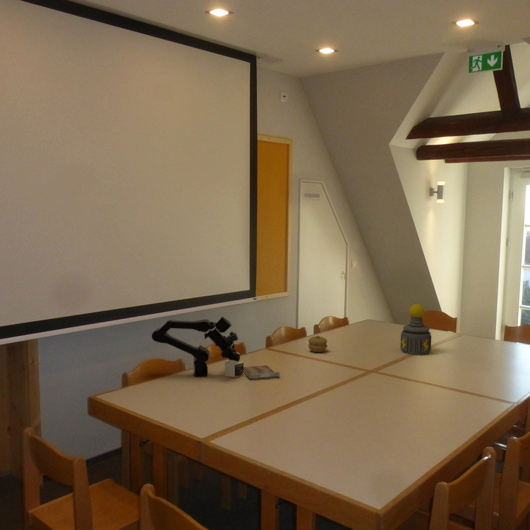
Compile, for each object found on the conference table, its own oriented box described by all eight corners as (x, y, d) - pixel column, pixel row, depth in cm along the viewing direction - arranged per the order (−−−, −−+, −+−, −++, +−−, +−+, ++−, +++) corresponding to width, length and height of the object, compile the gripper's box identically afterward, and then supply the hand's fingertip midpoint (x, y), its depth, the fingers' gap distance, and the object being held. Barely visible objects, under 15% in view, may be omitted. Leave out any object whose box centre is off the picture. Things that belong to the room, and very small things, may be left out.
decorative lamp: (393, 349, 361) (395, 302, 358) (417, 347, 369) (419, 301, 366) (413, 356, 344) (415, 307, 341) (437, 353, 352) (439, 305, 349)
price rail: (250, 378, 292) (250, 374, 292) (249, 377, 294) (249, 374, 294) (279, 376, 297) (279, 372, 297) (278, 375, 299) (278, 371, 299)
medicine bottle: (234, 378, 296) (235, 355, 295) (224, 375, 301) (224, 353, 300) (243, 375, 302) (243, 352, 301) (233, 372, 306) (233, 350, 305)
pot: (306, 353, 351) (306, 337, 350) (310, 348, 362) (310, 333, 361) (325, 354, 347) (325, 338, 346) (328, 350, 358) (329, 334, 358)
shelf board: (250, 380, 292) (250, 378, 292) (238, 369, 313) (238, 367, 313) (279, 378, 297) (279, 376, 297) (266, 367, 318) (266, 365, 318)
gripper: (227, 331, 290) (249, 353, 291) (230, 324, 308) (250, 345, 309) (212, 347, 290) (233, 368, 291) (215, 338, 309) (235, 359, 310)
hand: (238, 359), depth 301 cm, fingers closed on medicine bottle, 6 cm apart
